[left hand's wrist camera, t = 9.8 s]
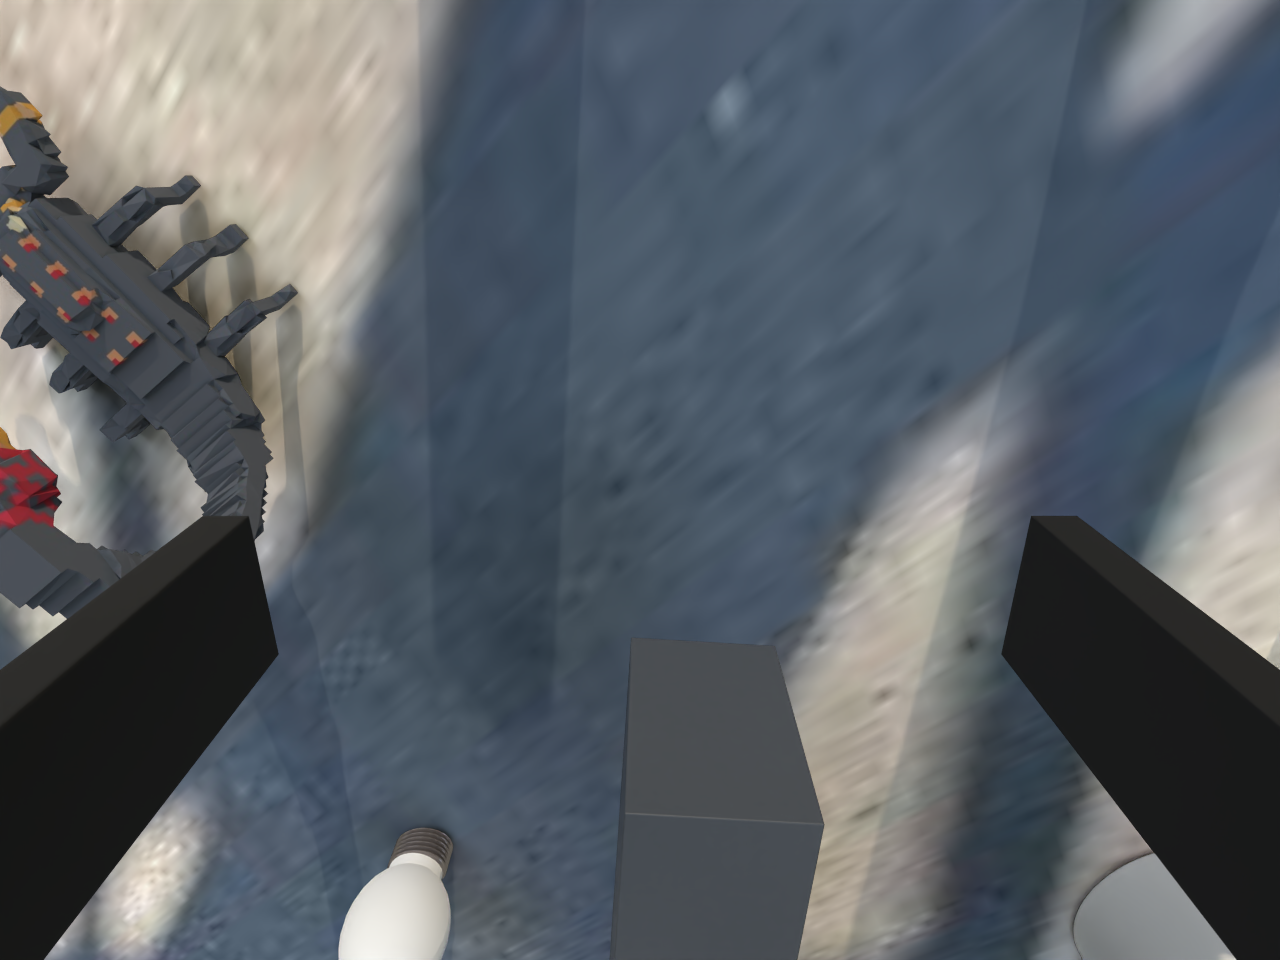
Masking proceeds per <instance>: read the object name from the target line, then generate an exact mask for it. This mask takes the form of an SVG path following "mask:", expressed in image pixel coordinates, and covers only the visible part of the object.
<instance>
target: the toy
mask: <svg viewBox="0 0 1280 960" xmlns="http://www.w3.org/2000/svg"><path fill="white" fill-rule="evenodd" d="M41 117H42V115H41V113H40V112H39V111H38V110H37V109H36V108H35V107H34V106H33V105H32V104H31V103H30V102H29V101H28V100H27V99H26V98H25V97H24V96H23V95H22V93H19V92H12V91H7V90H5V89H3V88H2V87H0V137H1V138H2V140H3V142H4V144H5V146H6V148H7V150H8V152H9V154H10V156H11V158H12V159H13V161H14V163H15V164H16V165H11V166H3V167H2V168H1V169H0V277H1V276H2V274H3V277H4V278H6V279H7V280H8V281H9V282H10V283H9V284H10V285H11V286H12V287H13V288H14V289H15V290H16V291H17V292H18V293H20V294H21V295H22V296H23V297H24V298H25V299H26V301H25V302H24V303H23V304H22V305H21V306H20V307H19V308H18V309H17V311H16V312H15V313H14V315H13V316H12V318H11V319H10V320H9V322H8V323H7V324H6V326H5V327H4V329H3V332H2V335H1V337H0V338H2V339H3V340H4V341H6V342H7V343H8V345H9V346H10V348H11V349H14V348H17V347H21V346H25V345H29V344H31V345H32V346H33V347H34V348H43V347H44V346H45V345H46V344H47V343H48V342H49V341H50V340H51V339H52V338H54V339H56V340H57V341H58V342H59V343H60V344H61V345H62V346H63V347H64V348H66V349H67V350H68V351H69V352H70V353H69V354H68V355H66V356H65V358H64V361H63V363H62V364H61V365H60V366H59V367H58V368H57V369H56V370H55V371H54V372H53V373H52V376H51V380H50V384H49V385H50V386H51V387H53V388H54V389H55V390H56V391H57V392H58V393H62V392H65V391H67V390H69V389H72V388H75V389H76V391H77V392H78V391H81V390H85V389H87V388H88V387H89V386H90V385H91V384H92V383H93V382H95V381H96V380H97V379H98V378H99V379H100V380H101V381H102V382H103V383H105V384H107V385H108V386H110V387H111V388H112V389H113V390H114V391H115V392H116V393H117V394H118V395H119V396H120V397H121V398H122V399H124V400H125V401H126V402H127V404H126V405H125V406H124V407H123V408H122V409H121V410H119V411H118V412H117V413H116V414H115V415H114V416H113V417H112V418H111V419H110V420H109V421H108V422H107V423H106V424H105V425H104V426H103V427H102V428H101V429H100V431H101V432H102V433H103V434H104V435H105V436H107V437H108V438H109V439H110V440H111V441H112V442H114V441H116V440H118V439H120V438H121V437H123V436H126V437H127V438H128V439H131V438H133V437H135V436H137V435H138V434H139V433H140V432H142V431H143V430H144V429H145V428H146V427H147V426H148V425H150V424H149V423H148V422H147V421H146V420H145V419H144V417H145V418H146V419H147V420H148V421H149V422H150V423H151V424H152V425H153V427H154V428H155V429H156V430H159V429H165V430H166V431H167V432H168V434H169V436H170V437H171V438H172V439H171V441H172V442H173V443H174V444H175V445H176V446H177V447H178V450H177V451H178V452H179V453H180V454H181V455H182V456H183V457H184V458H185V459H186V460H187V463H188V467H189V469H190V470H191V472H192V473H193V474H194V477H195V478H196V479H197V480H196V481H195V483H197V484H198V485H199V486H200V487H201V488H203V489H204V490H205V492H207V493H208V498H207V503H206V504H204V505H203V506H202V507H201V509H202V510H203V511H204V513H203V514H202V515H203V516H249V519H250V524H251V529H252V533H253V538H254V541H255V539H256V538H257V537H258V536H259V535H260V534H261V533H262V532H263V531H264V529H263V523H264V522H265V521H264V520H263V519H262V515H263V514H264V513H265V511H264V510H263V509H262V508H261V507H263V506H264V505H265V504H266V503H267V502H266V501H265V500H264V499H263V497H265V496H266V495H267V494H268V493H267V492H266V491H265V490H264V489H265V488H266V479H267V478H268V475H267V472H266V466H265V465H266V464H267V463H268V462H270V461H271V460H272V459H273V457H272V456H271V455H270V453H271V451H270V450H269V449H268V448H267V447H266V446H265V445H264V443H265V442H266V441H265V440H264V439H263V438H262V437H263V436H264V434H263V432H262V431H261V423H263V422H264V421H265V419H264V418H263V416H262V414H261V412H260V411H259V409H258V408H257V406H256V405H255V404H254V402H253V401H252V399H251V398H250V396H249V395H248V393H247V392H246V391H245V389H244V388H243V386H242V384H241V381H240V377H239V375H238V373H237V372H236V371H235V369H234V368H233V366H232V365H231V363H230V362H229V361H228V359H227V358H226V357H224V356H225V355H226V354H227V353H228V352H229V351H230V350H231V349H232V348H233V347H234V346H235V345H236V344H237V343H238V342H239V341H240V340H241V339H242V338H243V337H244V336H245V335H246V334H247V333H248V332H249V331H251V330H252V329H253V328H254V327H256V326H257V325H258V324H260V323H261V322H262V321H263V320H265V319H266V318H267V317H266V316H265V315H267V314H269V313H271V312H274V311H277V310H279V309H280V308H282V307H283V306H284V305H285V304H286V303H287V302H288V301H290V300H291V299H292V298H293V297H294V296H295V295H296V294H297V293H298V292H297V291H296V290H295V289H294V288H293V287H292V286H291V284H289V285H288V286H286V287H284V288H283V289H281V290H280V291H278V292H277V293H275V294H274V295H272V296H271V297H268V298H265V299H262V300H259V301H255V302H252V301H251V300H250V299H249V300H245V301H243V302H242V303H241V304H240V305H239V306H238V307H237V308H236V309H235V310H234V311H233V312H232V313H231V314H230V315H229V316H225V317H224V318H223V319H222V320H221V321H220V322H219V323H218V324H217V325H216V326H215V327H214V328H213V329H212V330H211V331H210V332H209V333H208V331H209V327H210V326H209V325H208V324H207V323H206V322H205V321H204V319H203V318H202V317H201V316H200V315H199V314H198V313H197V312H196V311H195V310H194V308H193V307H192V306H191V305H190V304H189V303H187V302H185V301H182V300H181V298H180V297H179V296H178V294H177V293H176V292H175V290H174V289H173V288H172V287H174V286H176V285H178V284H179V283H180V282H182V281H183V280H184V279H185V278H186V277H188V276H189V275H190V274H191V273H192V272H194V271H195V270H196V269H197V268H198V267H200V266H201V265H202V264H203V263H204V262H206V261H207V260H208V259H209V258H211V257H218V256H226V255H228V254H231V253H233V252H234V251H236V250H237V249H238V248H239V247H240V246H241V245H242V244H243V243H244V242H245V241H246V240H247V239H248V237H247V236H246V235H245V234H244V233H243V231H242V230H241V229H240V228H239V227H238V226H237V225H236V224H233V225H229V226H228V227H227V228H225V229H224V230H223V231H221V232H220V233H219V234H217V235H216V236H214V237H212V238H210V239H208V240H201V241H194V242H192V243H189V244H186V245H184V246H183V247H182V248H181V249H180V250H179V251H177V252H176V253H175V254H174V255H173V256H172V257H171V258H170V259H169V260H168V261H167V262H166V263H164V264H163V265H162V266H161V267H160V268H159V269H158V270H156V269H155V268H154V267H153V266H152V264H151V263H150V262H149V261H148V260H147V259H146V258H145V257H144V256H143V255H142V254H141V253H140V252H139V251H138V250H137V251H129V252H128V251H127V250H126V249H125V248H124V247H123V245H122V243H123V242H124V240H125V239H126V238H127V237H128V236H129V235H130V234H131V233H132V232H133V231H134V230H135V229H136V228H137V227H138V226H139V225H141V224H143V223H144V222H145V221H146V220H147V219H149V218H150V217H151V216H152V215H153V214H155V213H156V212H157V211H158V210H159V209H161V208H162V207H163V206H167V205H176V204H183V203H184V202H185V201H186V200H187V199H188V198H189V197H190V196H191V195H192V194H193V193H194V192H195V191H196V190H197V189H198V188H199V187H200V186H201V185H200V184H199V183H198V182H197V181H196V180H195V178H194V177H193V176H184V177H183V178H182V179H181V180H180V181H178V182H177V183H176V184H174V185H173V186H171V187H155V188H143V187H139V186H135V187H134V188H133V189H132V190H131V191H129V192H128V193H127V194H126V195H125V196H124V197H122V198H121V199H120V200H119V201H118V202H117V203H116V204H115V205H113V206H112V207H111V208H110V209H109V210H108V211H107V212H106V213H105V214H104V215H102V216H101V217H100V218H99V219H98V220H97V219H96V218H95V217H94V216H93V215H88V214H87V213H86V212H85V211H84V210H83V209H82V208H81V207H80V206H79V204H78V203H76V202H74V201H73V200H71V199H69V198H46V197H45V196H44V194H46V195H51V194H52V193H53V192H54V191H55V190H56V189H57V188H58V187H59V186H60V185H61V184H62V183H63V182H64V181H65V180H66V179H67V178H68V177H69V176H68V174H67V173H66V169H67V168H68V167H67V166H66V165H64V164H63V163H61V161H60V159H59V158H58V157H57V156H58V155H59V154H60V153H61V151H60V150H59V149H58V147H57V146H56V145H55V144H54V143H53V141H52V140H51V139H50V138H49V137H48V136H49V135H50V133H49V132H47V131H46V130H45V128H44V126H43V124H42V122H41V121H40V120H39V119H40V118H41ZM57 478H58V475H57V474H55V473H54V472H53V471H52V470H51V469H50V468H49V467H48V466H47V465H46V464H45V463H44V462H43V461H42V460H41V459H40V458H39V457H38V456H37V455H36V454H35V453H34V452H33V451H32V450H31V449H28V450H16V449H15V448H14V447H13V446H12V445H11V444H10V441H9V438H8V436H7V433H6V432H5V431H4V430H3V429H2V428H1V427H0V593H1V594H3V595H4V596H5V597H6V598H8V599H9V600H10V601H11V602H12V603H14V604H15V605H16V606H17V607H19V608H21V607H22V606H23V605H25V604H27V605H28V606H29V607H30V608H32V609H34V608H36V607H37V606H39V605H40V606H41V607H42V608H43V609H44V610H46V611H47V612H48V613H49V614H51V615H52V616H54V615H55V614H57V613H58V612H59V613H61V614H62V615H63V616H64V617H65V618H67V619H68V618H69V617H71V616H72V615H73V614H75V613H76V612H77V611H79V610H80V609H81V608H83V607H84V606H85V605H87V604H88V603H89V602H90V601H92V600H93V599H94V598H96V597H97V596H98V595H100V594H101V593H102V592H104V591H105V590H106V589H108V588H109V587H110V586H112V585H113V584H114V583H116V582H117V581H118V580H119V579H121V578H122V577H123V576H125V575H126V574H127V573H129V572H130V571H131V570H133V569H134V568H135V567H137V566H138V565H139V564H141V563H142V562H143V561H144V560H146V559H147V558H148V557H150V556H151V555H152V554H154V553H155V551H153V550H151V551H149V552H148V553H147V554H145V555H144V556H142V555H140V554H139V553H137V552H135V553H133V554H130V553H128V552H127V551H126V550H123V551H117V550H111V549H107V548H105V547H103V546H100V547H99V548H98V549H96V548H94V547H93V546H92V545H91V544H90V543H76V542H75V541H74V540H72V539H71V538H69V537H68V536H67V535H65V534H64V533H63V532H61V531H60V530H59V529H57V528H56V527H55V526H53V523H54V512H55V511H56V510H57V508H58V507H59V506H60V504H61V503H62V501H61V500H59V499H58V498H57V497H58V496H59V495H60V494H61V493H60V491H59V490H58V488H57V487H56V485H57Z"/></svg>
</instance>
